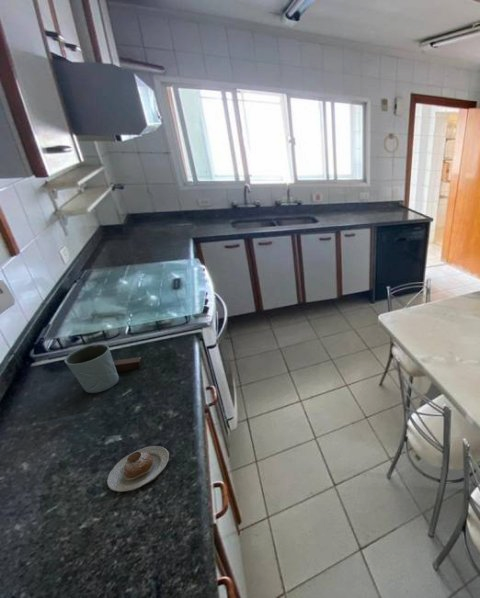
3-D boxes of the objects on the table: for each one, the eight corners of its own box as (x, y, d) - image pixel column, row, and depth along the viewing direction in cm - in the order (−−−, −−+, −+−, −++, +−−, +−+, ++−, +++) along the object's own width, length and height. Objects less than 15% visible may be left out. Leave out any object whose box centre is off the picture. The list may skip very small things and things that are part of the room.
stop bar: (80, 377, 107) (77, 369, 105) (84, 371, 109) (81, 364, 108) (140, 369, 112) (138, 361, 111) (143, 364, 115) (140, 356, 114)
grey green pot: (124, 370, 110) (111, 340, 105) (119, 388, 103) (105, 357, 97) (84, 380, 106) (69, 349, 100) (77, 399, 98) (59, 367, 93)
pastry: (173, 443, 86) (168, 430, 84) (165, 482, 76) (159, 469, 74) (117, 458, 81) (111, 445, 79) (101, 502, 72) (93, 489, 70)
